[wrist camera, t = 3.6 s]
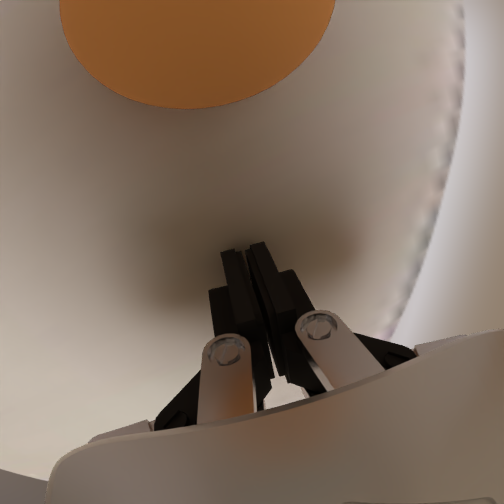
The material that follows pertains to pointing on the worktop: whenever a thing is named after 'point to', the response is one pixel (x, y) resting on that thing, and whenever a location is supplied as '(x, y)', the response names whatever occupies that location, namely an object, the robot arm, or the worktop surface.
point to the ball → (192, 46)
